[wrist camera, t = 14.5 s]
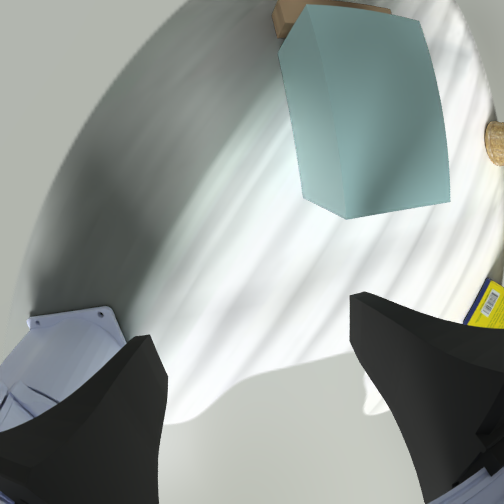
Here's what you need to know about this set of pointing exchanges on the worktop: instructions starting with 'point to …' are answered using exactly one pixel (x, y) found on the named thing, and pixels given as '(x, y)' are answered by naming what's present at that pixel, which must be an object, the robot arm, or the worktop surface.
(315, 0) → the strip
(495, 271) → the worktop surface
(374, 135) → the pale mint block
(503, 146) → the sprinkles bottle
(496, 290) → the supplement box
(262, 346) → the worktop surface
